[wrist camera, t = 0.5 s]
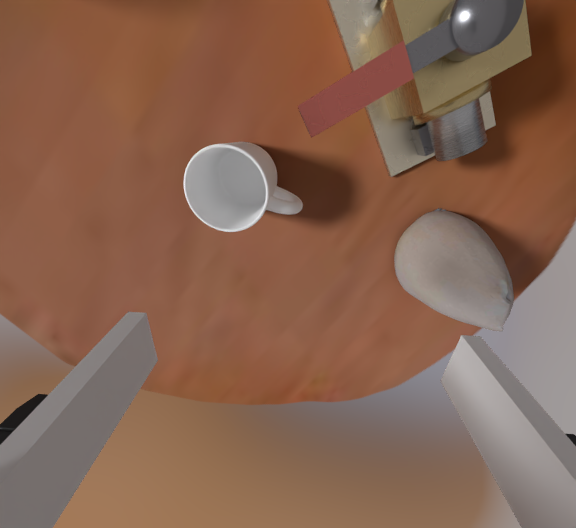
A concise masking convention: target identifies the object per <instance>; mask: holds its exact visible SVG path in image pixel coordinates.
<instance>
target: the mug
mask: <svg viewBox="0 0 576 528" xmlns="http://www.w3.org/2000/svg"><path fill="white" fill-rule="evenodd" d="M184 192H185V196H186V199H187V201H188V204H189V206H190V208H191V209H192V211H193V212H194V213H195V214H196V216H197V217H198V218H199V219H200V220H201V221H203V222H204V223H205V224H207V225H209V226H210V227H212V228H215V229H217V230H220V231H226V232H237V231H242V230H245V229H247V228H249V227H251V226H252V225H254V224H255V223H256V222H257V221H259V219H260V218H261V217H262V215H263V214H264V212H265V210H268V211H272V212H275V213H280V214H288V215H291V214H297V213H299V212H300V211H301V210H302V208H303V203H302V201H301V200H300V198H299V197H297V196H296V195H294V194H293V193H291V192H289V191H287V190H284V189H282V188H280V187H278V186H277V170H276V166H275V164H274V162H273V160H272V158H271V157H270V155H269V154H268V153H267V152H266V151H265V150H264V149H262V148H261V147H259V146H257V145H255V144H253V143H249V142H234V143H224V144H215V145H211V146H208V147H205V148H203V149H202V150H200V151H199V152H197V153H196V154H195V155H194V156H193V157H192V159H191V160H190V162H189V163H188V165H187V168H186V171H185V175H184Z"/></svg>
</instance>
